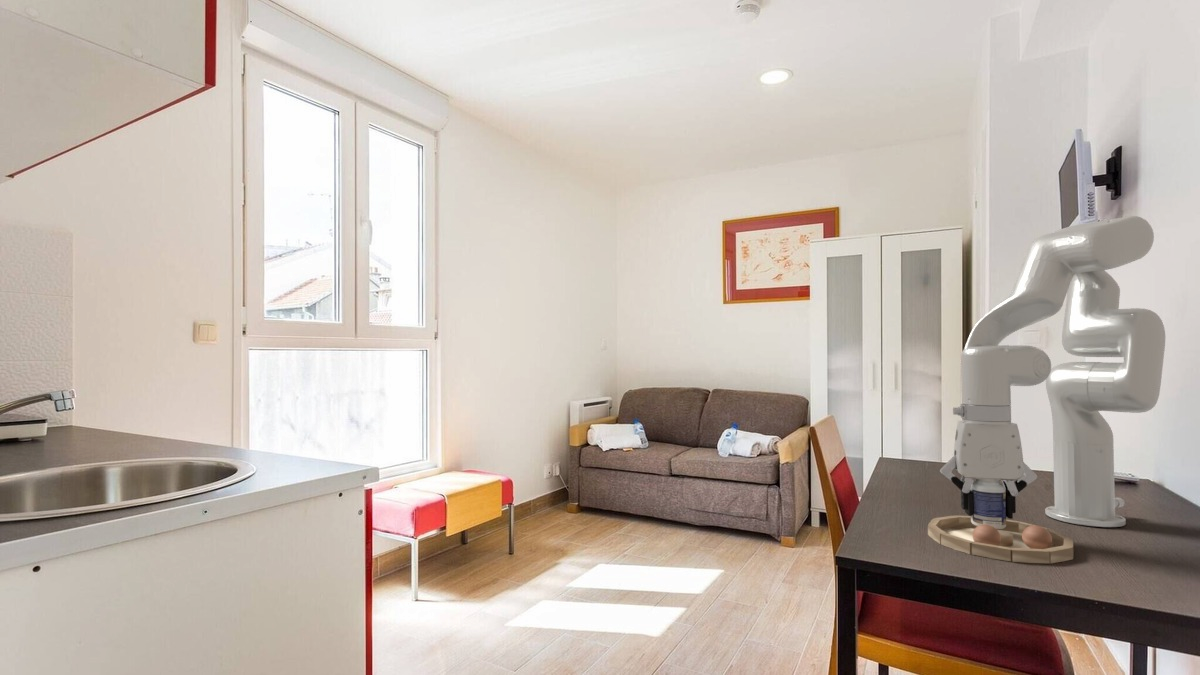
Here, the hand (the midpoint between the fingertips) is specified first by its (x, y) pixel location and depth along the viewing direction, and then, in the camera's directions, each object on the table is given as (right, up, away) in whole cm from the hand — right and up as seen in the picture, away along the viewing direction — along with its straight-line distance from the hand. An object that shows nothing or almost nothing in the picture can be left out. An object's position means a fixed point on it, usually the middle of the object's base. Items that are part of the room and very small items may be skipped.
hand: (988, 514), depth 108 cm
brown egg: (-6, -3, -9) cm, 11 cm away
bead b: (+2, -3, -10) cm, 10 cm away
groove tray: (-2, -4, -6) cm, 7 cm away
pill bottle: (0, -2, 0) cm, 2 cm away
